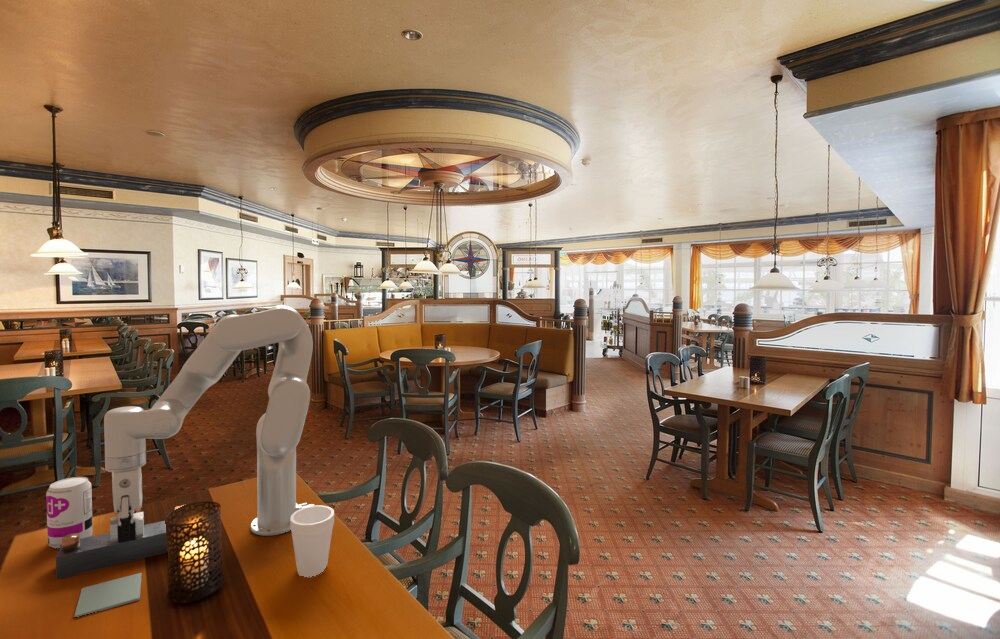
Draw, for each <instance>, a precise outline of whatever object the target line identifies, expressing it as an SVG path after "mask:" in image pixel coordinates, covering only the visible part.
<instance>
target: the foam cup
mask: <svg viewBox="0 0 1000 639" xmlns="http://www.w3.org/2000/svg"><path fill="white" fill-rule="evenodd" d="M334 525H335V510H334V509H333V508H332V507H330V506H327V505H323V504H321V505H319V504H317V505H314V506H309V507H305V508H302V509H300V510H297V511H295V512H294V513H293V514H292V515H291V519H290V530H291V531H290V532H291V537H292V538H291V539H292V544H293V551H294V552H293V553H294V558H295V564H296V571H297V574H298V575H299V576H300V577H301V576H304V577H303V578H305V577H307V578H313V577H312V576H314V577H317V576H316V575H318V574H320V573H321V572H323V571H324V569H325V568H326V566H328V560H329V555H330V547H331V540H332V534H333V527H334ZM324 572H325V571H324ZM324 572H323V573H324ZM321 574H322V573H321ZM321 574H320V575H321ZM309 576H310V577H309ZM318 576H319V575H318Z"/></svg>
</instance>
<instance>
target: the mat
mask: <svg viewBox="0 0 1000 639" xmlns="http://www.w3.org/2000/svg"><path fill="white" fill-rule="evenodd" d="M142 576H143V572H139V573H135V574H131V575H127V576H123V577H120V578H115V579H112V580H109V581H105V582H99V583H97V584H93V585H90V586H89V585H88V586H85V587H82V588H81V592H80V593H79V594H80V595H79V598H78V602H77V606H76V608H75V612H74V615H73V616H74V617H77V616H82V615H85V616H87V615H86V614H89V615H91V614H90V613H92V614H94V613H93V612H95V613H98V612H97V611H99V612H101V611H105V610H109V609H114V608H115V607H120V606H122V605H123V606H124V605H126V604H129V603H133V602H137V601H140V600H141V591H142V590H141V589H142ZM82 617H83V616H82Z"/></svg>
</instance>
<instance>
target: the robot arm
mask: <svg viewBox="0 0 1000 639" xmlns="http://www.w3.org/2000/svg"><path fill="white" fill-rule="evenodd" d="M272 344H278V350H277V351H278V352H277V355H276V360H275V365H274V369H273V372H272V375H271V378H270V382H269V384H268V388H267V394H268V398H269V399H268V402H267V403H268V404H267V407H266V411H265V413H264V414H262V415H261V416H260V418H259V419H258V421H257V424H256V430H255V431H256V435H255V436H256V457H257V458H256V461H257V462H256V473H257V474H256V479H257V480H256V483H257V484H256V489H257V490H256V491H257V492H256V494H257V496H256V500H257V501H256V504H257V505H256V506H257V507H256V509H257V511H256V512H257V514H256V515H257V516H256V517H255V518H254V519H253V520H252V521H251V523H250V531H251V532H252V533H253V534H255V535H259V536H267V537H269V536H278V535H282V534H284V533H285V532H286V533H288V532H291V531H290V519H291V515H292V514H293V513H294V512H295V511H297V510H300V509H302V508H305V507H309V506H315V504H313V503H311V504H308V502H303V503H299V504H298V503H297V446H298V444H299V443H300V441H301V437H302V434H303V430H304V427H305V426H304V425H305V421H306V418H307V416H308V415H307V414H308V410H309V406H310V402H311V390H310V387H309V384H308V382H307V380H308V374H309V370H310V366H311V362H312V356H313V350H314V349H313V348H314V342H313V335H312V332H311V329H310V327H309V324H308V323H307V322H306V320H305V319H304V317H302V315H301V313H300V312H299V311H297V310H296V309H295V308H293V307H291V306H290V305H286V304H277V305H274V306H272V307H271V308H269V309H267V310H262V311H258V312H252V313H248V314H246V313H245V314H242V315H241V314H227V315H225V316H223V317H221V318H220V319H219V320H218V321H217V322H216V323H215V325H214V326H213V327H212V329H211V330H210V331H209V332H208V334H206V336H205V338H204V339H202V341H201V342H200V344H199V345H198V346H197V348H195V350H194V351H193V352H192V353H191V355H190V356H189V357H188V359H187V360H186V361H185V363H183V365H182V368H181V369H180V371H179V373H177V375H176V376H175V378H174V379H173V381H171V383H170V384H169V386H168V387H167V388H166V389H165V390H164V391H163V393H162V394H161V395H160V397H159V398H158V399H157V400H156V401H155V403H154V404H153V405H152V407H151V408H150V409H146V410H145V409H144V408H143V407H140V406H134V405H132V406H131V405H130V406H128V405H127V406H120V407H116V408H112V409H110V410H108V411H107V412H106V413H105V414H104V417H103V425H104V426H103V428H104V429H103V430H104V465H105V466H104V469H105V471H106V472H108V473H111V486H112V488H111V489H112V503H113V511H114V514H115V515H117V516H118V526H117V530H118V542H124V541H129V540H133V539H135V536H136V535H135V522H134V513H138V511H139V510H141V508H142V505H143V476H142V474H143V473H142V467H144V466H145V465H146V464H147V447H146V446H147V445H146V444H147V442H146V439H147V440H153V439H154V440H163V439H168V438H172V437H173V436H175V435H176V434H178V433H179V431H180V430H181V429H182V426H183V423H184V420H185V417H186V416H187V415H188V414H189V412H190V411H191V410H192V408H193V407H194V406H195V404H196V403H197V401H199V399H200V398H201V396H202V395H203V394H205V392H206V391H207V390H208V389H209V388H210V387H212V386H213V385H215V384H216V383H217V382H219V381H220V379H221V378H222V377H223V375H224V374H225V373H226V372H227V370H228V369H229V368H230V366H231V365H232V364H233V362H234V361H235V360H236V358H237V357H238V356H239V354H240V353H241V352H242V351H247V350H250V349H256V348H260V347H265V346H268V345H272ZM129 514H131V517H130V515H129ZM286 533H285V534H286Z"/></svg>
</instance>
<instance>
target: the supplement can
mask: <svg viewBox="0 0 1000 639" xmlns="http://www.w3.org/2000/svg"><path fill="white" fill-rule="evenodd" d="M92 493H93V492H92V483H91V482H90V480H89V477H86V476H75V477H67V478H63V479H60V480H57V481H55V482H52V483H50V485H49V487H48V488H47V491H46V493H45V497H46V524H47V525H46V528H47V529H46V530H47V532H46V533H47V545H48V546H49V547H51V548H53V549H56V548H57V549H58V548H60V546H61V544H62V537H64V536H66V535H68V534H72V533H79V534H80V539H82V538H86V537H91V536H93V534H94V533H93V529H94V528H93V501H92V497H93V496H92V495H93V494H92ZM58 550H59V549H58Z"/></svg>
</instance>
